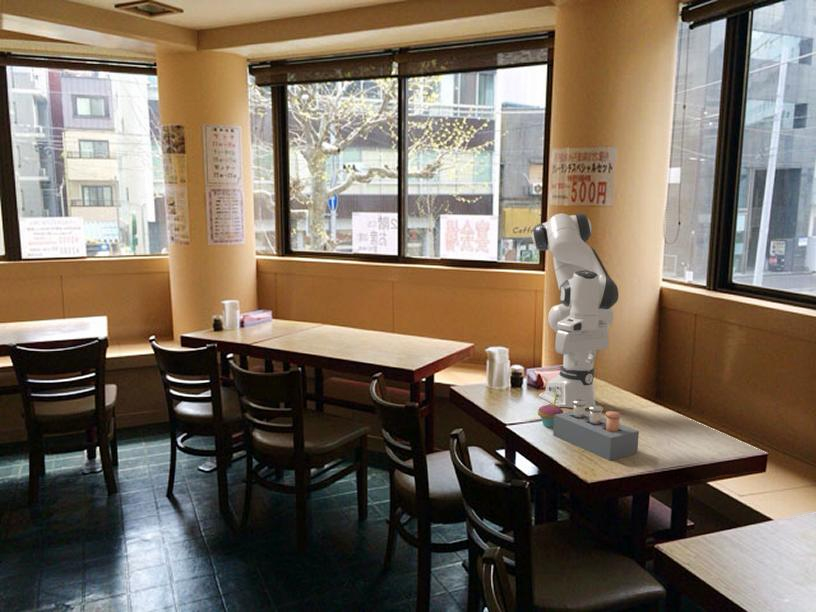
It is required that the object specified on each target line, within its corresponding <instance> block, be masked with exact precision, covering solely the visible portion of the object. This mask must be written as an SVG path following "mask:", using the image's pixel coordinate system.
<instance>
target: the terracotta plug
mask: <svg viewBox="0 0 816 612" xmlns="http://www.w3.org/2000/svg"><path fill="white" fill-rule="evenodd" d="M605 416H606V419H607V421H606V430H607V431H609V432H612V433H614V432H618V428H619V424H620V418H621V412H619V411H612V410H611V411H610V410H609V411H606V412H605Z"/></svg>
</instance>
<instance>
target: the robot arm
mask: <svg viewBox="0 0 816 612" xmlns="http://www.w3.org/2000/svg"><path fill="white" fill-rule="evenodd" d="M591 235H592V223H591V220H590V219H589V218H588V216H587V214H585V213H575V214H573V215H568V214H566V213H556V214H554V215H553V216H551V217H550V218H549V220H548V221H545V222H541V223H538V224H536V225H535V226H534V227H533V228H532V232H531V239H532V243H533V245H534V246H535V247H536V249H537V250H539V251H542V252H543V251H549V250H550V253H551V255H552V258H553V269H554V273H555V277H556V282H557V287H558V290H559V301H560V302H561V303H560V304H556V305H554V306H552V307H551V308H550V310H549V312H548V315H547V320H548V325H549V326H550V328H551V329H552V330H553V331H554V332H555V333H556V335H555V351H556V353H558V354H560V355H563V358H562V360H563V361H562V362H563V364H562V365H561V366H559V367H558V368H557V370H559V374H557V375H556V376H555V377H553V378H552V379H550V380H549V381H547V382H546V385H545V391H542V392H541V393H539V395H538V396H539V397H540V398H541V399H543V400H545V401H546V402H548V403H549V404H551V405H553V404H554V399H555V394H556V393H557V399H556V404H555V405H556V406H558V407H560V408H571V409H573V408H574V404H573V400H575V399H581V400H585V401H586V405H585V409H589V406H590V405H597V403H596V397H595V388H594V387H595V386H594V379H595V368H594V360H595V357H596V355H597V351H599V350H606V349H608V347H609V345H610V344H609V343H610V341H609V338H610V337H609V330H608V328H609V327H610V326H611V325H612V323H613V321H614V312H613V309H612V307H613V306H615V305H616V303H618V300H619V289H618V285H617V284H616V282H615V281H614V280H613V279H612V277H610V275H609V273H608V271H607V269H606V268H605V266H604V264H603V261H601V259H600V256H599V255H598V253H597V252H596V250H595V249H594V248H593V247H592V246H590V245H588V243H586V242H588V241H589V240H590V237H591ZM557 391H558V392H557Z"/></svg>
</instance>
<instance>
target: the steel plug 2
mask: <svg viewBox="0 0 816 612" xmlns="http://www.w3.org/2000/svg"><path fill="white" fill-rule="evenodd" d="M603 409H604V406H601V405H598V404H596V405H590V406H589V408H588V410H589V413H590V415H589V424H592V425H594V426H597V425H601V417H602V412H603Z"/></svg>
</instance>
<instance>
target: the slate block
mask: <svg viewBox="0 0 816 612" xmlns="http://www.w3.org/2000/svg"><path fill="white" fill-rule="evenodd" d="M589 415H590V411H586V410H585V418H583V419H576V418H574V417H573V410H572V411H571V410H570V411H566V412H563V413H561V414H556V415H554V427H553V432H552V433H553V434H552V435H553V437H556V438H558V439H560V440H563V441H565V442H567V443H569V444H571V445H574V446H575V447H576V446H577V448H578V447H579V448H581V449H583V450H585V451H587V452H590V453H591V454H594V455H596V456H599V457H601V458H602V459H605V460H607V461H613V460H617V459H621V458H625V457H629V456H632V455H636V454H638V452H639V451H638V448H639V435H640V431H639V430H637V429H634V428H631V427H629V426H626V425H623V424H621V423H619V428H618V432H614V433H612V432H609V431H607V430H606V421H607V418H605V417H602V416H601V425H597V426H594V425H592V424H589Z"/></svg>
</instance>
